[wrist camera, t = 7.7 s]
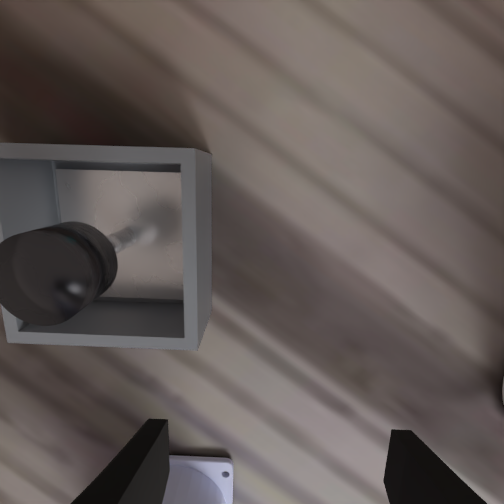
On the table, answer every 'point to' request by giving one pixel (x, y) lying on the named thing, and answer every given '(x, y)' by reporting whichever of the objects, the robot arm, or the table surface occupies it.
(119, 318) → the press housing
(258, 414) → the table surface
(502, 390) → the coffeepot
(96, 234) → the plunger
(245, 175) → the table surface
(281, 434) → the table surface
